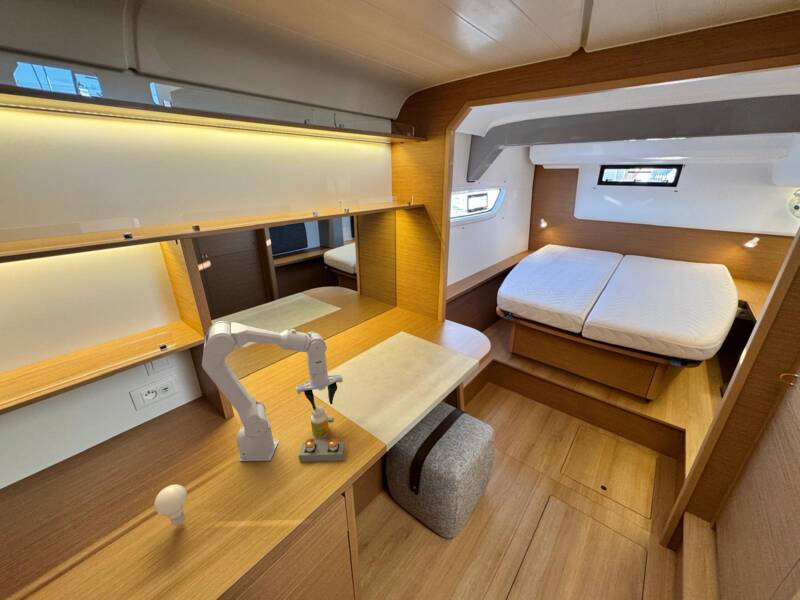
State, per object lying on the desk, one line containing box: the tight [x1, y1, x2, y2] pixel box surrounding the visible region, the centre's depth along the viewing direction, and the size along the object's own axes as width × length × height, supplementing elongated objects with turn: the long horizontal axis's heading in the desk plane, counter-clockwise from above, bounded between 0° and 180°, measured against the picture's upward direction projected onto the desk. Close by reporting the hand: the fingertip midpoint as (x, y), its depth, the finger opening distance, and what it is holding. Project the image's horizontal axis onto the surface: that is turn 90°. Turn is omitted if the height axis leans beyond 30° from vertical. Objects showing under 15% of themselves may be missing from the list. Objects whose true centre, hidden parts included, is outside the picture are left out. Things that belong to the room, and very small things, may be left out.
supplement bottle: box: [310, 405, 330, 440], centre depth 104 cm, size 5×5×10 cm
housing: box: [298, 416, 346, 462], centre depth 103 cm, size 13×18×2 cm
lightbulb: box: [153, 483, 188, 527], centre depth 77 cm, size 6×6×11 cm
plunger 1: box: [304, 438, 316, 453], centre depth 96 cm, size 3×3×4 cm
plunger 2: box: [327, 437, 339, 452], centre depth 96 cm, size 3×3×4 cm
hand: (322, 405), depth 104 cm, fingers open, 5 cm apart
